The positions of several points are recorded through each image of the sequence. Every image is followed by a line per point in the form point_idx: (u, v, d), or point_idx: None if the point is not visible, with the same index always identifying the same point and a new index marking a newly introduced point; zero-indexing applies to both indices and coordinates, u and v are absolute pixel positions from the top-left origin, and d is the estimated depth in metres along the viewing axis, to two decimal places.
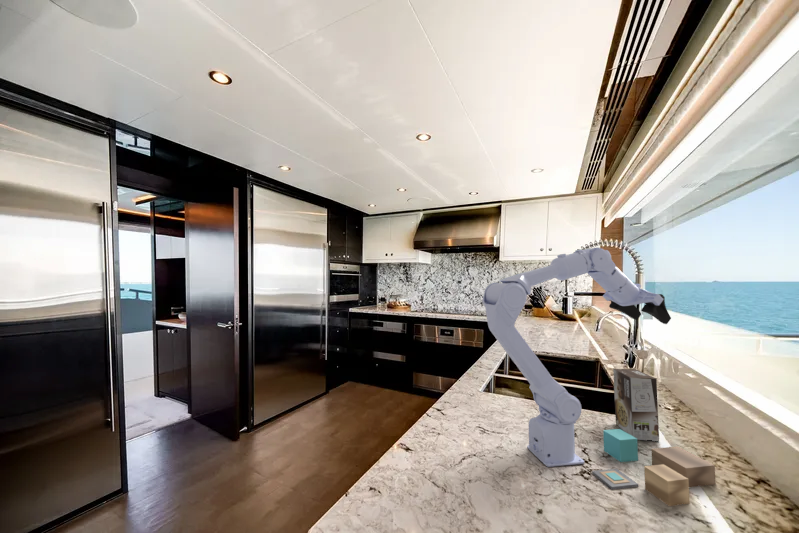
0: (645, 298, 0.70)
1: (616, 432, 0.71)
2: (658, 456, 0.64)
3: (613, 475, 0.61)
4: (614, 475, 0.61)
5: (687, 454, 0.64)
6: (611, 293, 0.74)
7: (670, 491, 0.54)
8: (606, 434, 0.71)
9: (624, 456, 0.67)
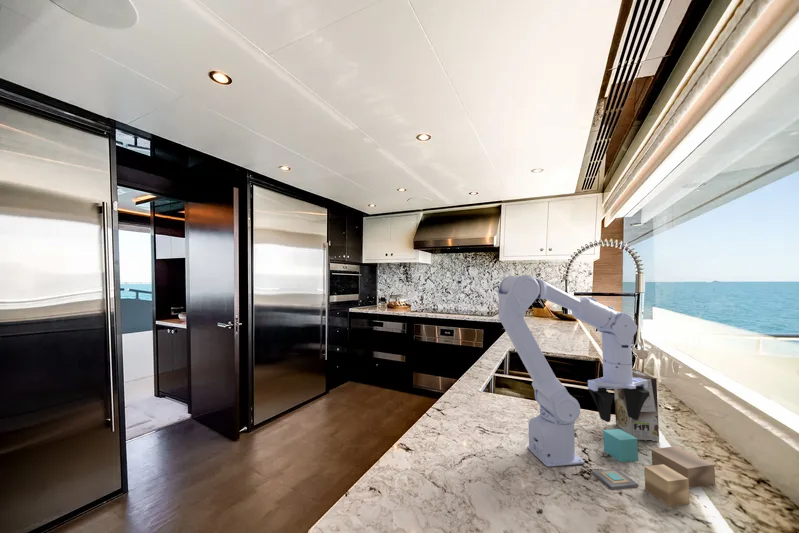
0: None
1: (616, 432, 0.71)
2: (658, 457, 0.64)
3: (613, 475, 0.61)
4: (614, 475, 0.61)
5: (686, 454, 0.64)
6: None
7: (670, 491, 0.54)
8: (606, 434, 0.71)
9: (624, 456, 0.67)
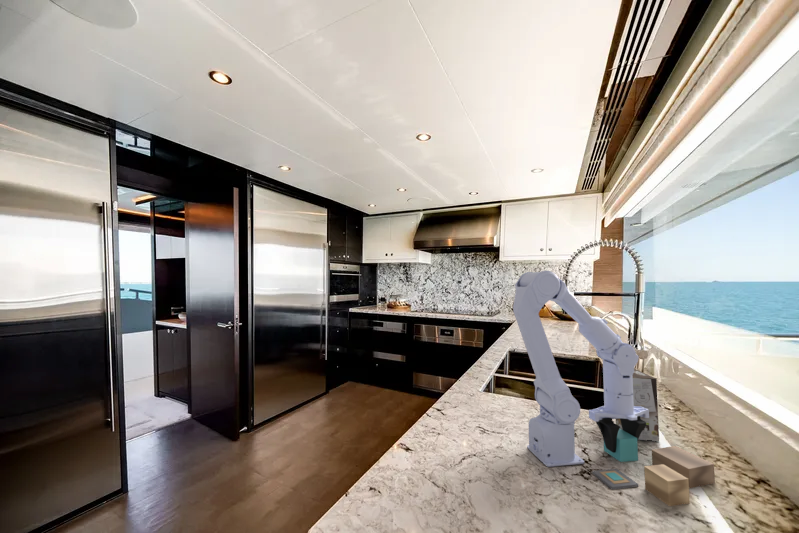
0: (599, 411, 0.70)
1: None
2: (659, 457, 0.64)
3: (613, 475, 0.61)
4: (614, 475, 0.61)
5: (686, 453, 0.64)
6: None
7: (670, 491, 0.54)
8: None
9: (624, 456, 0.67)
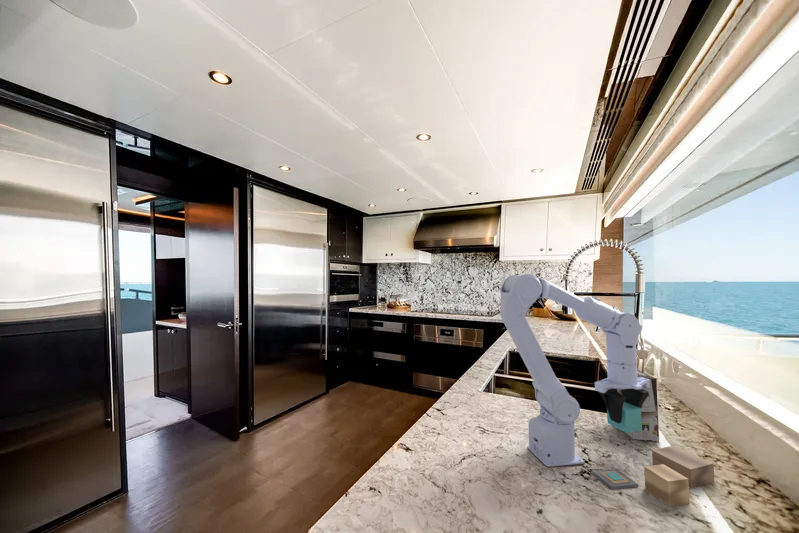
0: None
1: None
2: (659, 457, 0.64)
3: (613, 475, 0.61)
4: (614, 475, 0.61)
5: (685, 453, 0.64)
6: None
7: (670, 491, 0.54)
8: None
9: (629, 426, 0.67)
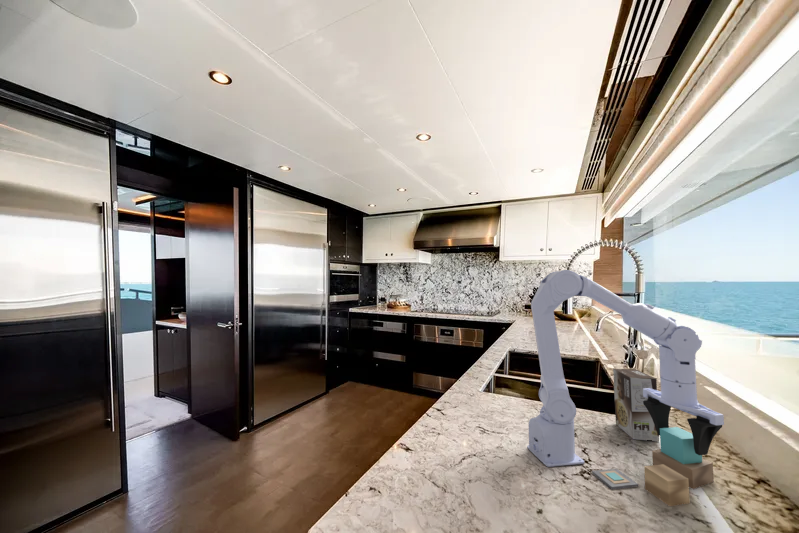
0: (702, 411, 0.59)
1: (676, 433, 0.63)
2: (660, 458, 0.64)
3: (613, 475, 0.61)
4: (614, 475, 0.61)
5: None
6: (667, 382, 0.63)
7: (671, 491, 0.54)
8: (686, 441, 0.61)
9: None
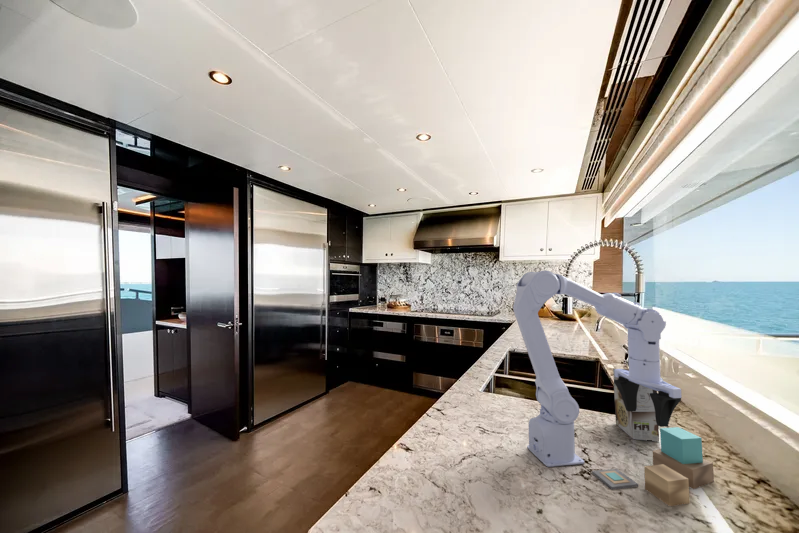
0: (663, 386, 0.64)
1: (676, 433, 0.63)
2: (660, 458, 0.64)
3: (613, 475, 0.61)
4: (614, 475, 0.61)
5: None
6: (633, 361, 0.68)
7: (671, 491, 0.54)
8: (686, 441, 0.61)
9: None
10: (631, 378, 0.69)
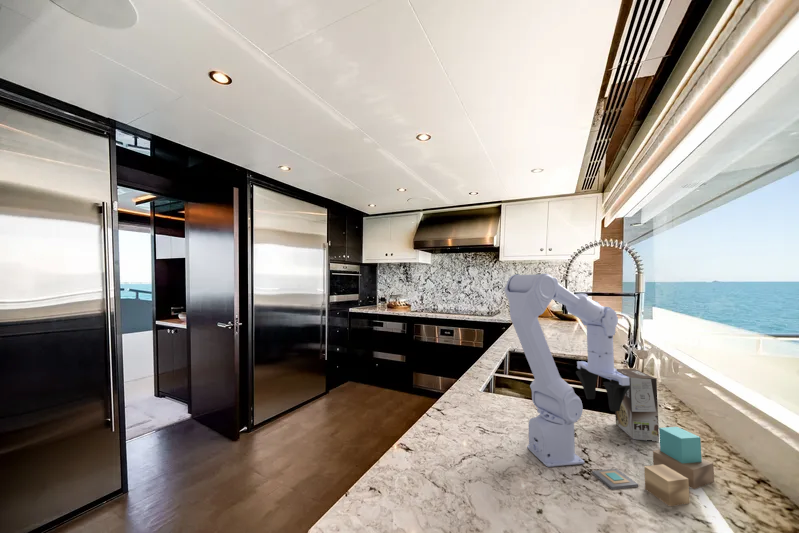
0: None
1: (675, 432, 0.63)
2: (661, 458, 0.64)
3: (613, 475, 0.61)
4: (614, 475, 0.61)
5: None
6: (591, 354, 0.76)
7: (671, 491, 0.54)
8: (685, 441, 0.61)
9: None
10: (589, 369, 0.77)
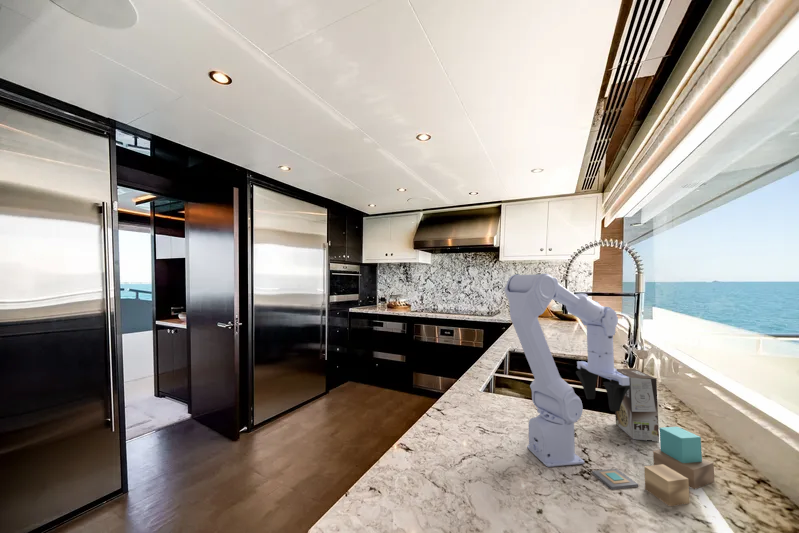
0: None
1: (676, 432, 0.63)
2: (661, 459, 0.64)
3: (613, 475, 0.61)
4: (614, 475, 0.61)
5: None
6: (591, 354, 0.76)
7: (671, 491, 0.54)
8: (685, 440, 0.61)
9: None
10: (589, 369, 0.77)
